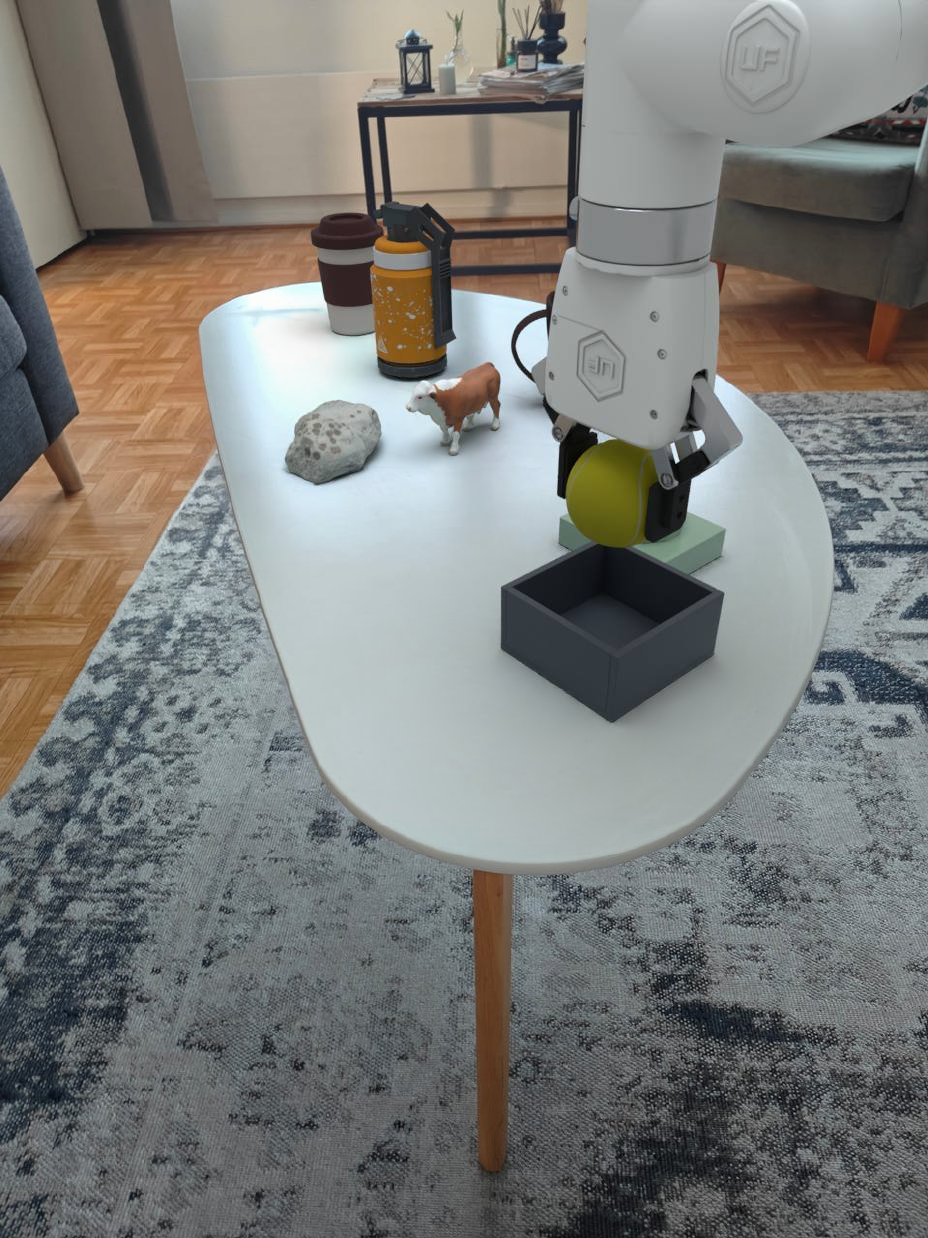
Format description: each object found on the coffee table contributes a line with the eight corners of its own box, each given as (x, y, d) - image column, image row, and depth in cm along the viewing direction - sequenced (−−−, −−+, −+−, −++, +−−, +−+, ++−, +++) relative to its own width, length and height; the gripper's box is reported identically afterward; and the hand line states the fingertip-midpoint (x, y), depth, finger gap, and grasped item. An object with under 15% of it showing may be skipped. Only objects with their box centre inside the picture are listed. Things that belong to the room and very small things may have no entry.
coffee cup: (352, 313, 136) (342, 206, 127) (403, 324, 131) (397, 214, 123) (307, 331, 130) (293, 220, 121) (359, 343, 125) (349, 228, 116)
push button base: (721, 555, 78) (729, 509, 75) (654, 594, 73) (660, 547, 71) (625, 510, 85) (629, 466, 82) (558, 543, 80) (560, 498, 77)
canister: (407, 352, 121) (398, 191, 110) (474, 368, 116) (471, 200, 104) (363, 372, 116) (348, 204, 104) (431, 390, 110) (424, 215, 99)
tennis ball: (682, 529, 62) (695, 436, 58) (642, 577, 58) (654, 478, 54) (591, 505, 66) (597, 414, 61) (546, 548, 61) (549, 453, 57)
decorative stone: (279, 439, 99) (273, 396, 97) (376, 427, 102) (372, 384, 99) (290, 488, 90) (283, 442, 87) (396, 474, 92) (393, 428, 89)
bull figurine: (402, 456, 95) (397, 382, 90) (483, 416, 103) (483, 346, 99) (432, 468, 93) (429, 392, 88) (513, 426, 101) (514, 354, 96)
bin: (713, 655, 67) (725, 592, 63) (611, 723, 61) (618, 658, 58) (601, 592, 74) (606, 533, 70) (500, 648, 68) (500, 586, 65)
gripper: (489, 217, 54) (490, 485, 64) (733, 275, 43) (686, 586, 53) (577, 198, 57) (564, 454, 68) (821, 247, 47) (761, 542, 57)
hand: (618, 510), depth 60 cm, fingers closed on tennis ball, 7 cm apart
